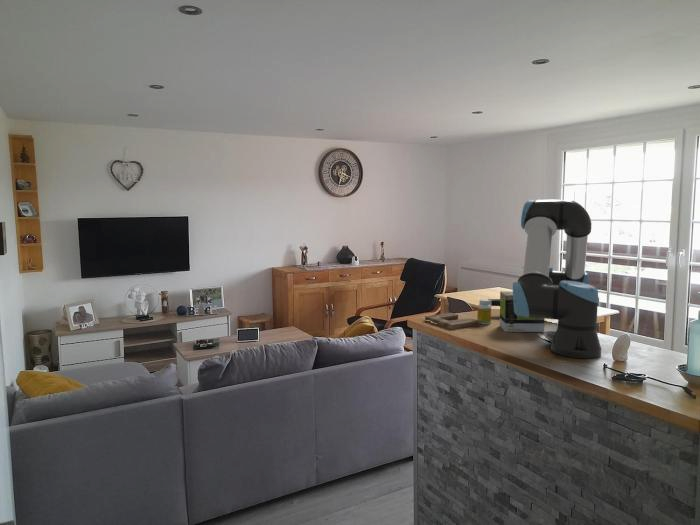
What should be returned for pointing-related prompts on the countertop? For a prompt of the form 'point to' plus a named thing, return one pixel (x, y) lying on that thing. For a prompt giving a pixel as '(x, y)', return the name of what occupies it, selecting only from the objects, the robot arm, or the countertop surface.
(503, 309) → the tea box
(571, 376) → the countertop surface
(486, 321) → the supplement bottle
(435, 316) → the u-shaped block
